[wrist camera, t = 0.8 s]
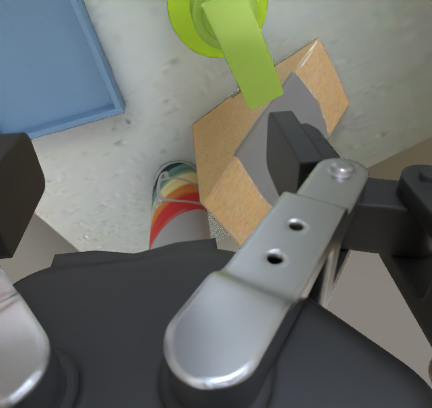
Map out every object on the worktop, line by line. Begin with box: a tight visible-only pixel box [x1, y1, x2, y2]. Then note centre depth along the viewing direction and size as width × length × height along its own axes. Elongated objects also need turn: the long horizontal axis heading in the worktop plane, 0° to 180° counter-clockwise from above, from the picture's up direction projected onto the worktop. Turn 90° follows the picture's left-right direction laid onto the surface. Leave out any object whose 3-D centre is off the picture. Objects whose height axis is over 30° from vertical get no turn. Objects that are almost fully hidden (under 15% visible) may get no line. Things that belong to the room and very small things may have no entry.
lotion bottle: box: [149, 161, 211, 250], centre depth 35 cm, size 6×6×20 cm
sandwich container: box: [192, 38, 349, 247], centre depth 34 cm, size 9×15×15 cm, turn 124°
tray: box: [0, 0, 126, 139], centre depth 33 cm, size 16×13×2 cm
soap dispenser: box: [167, 0, 283, 110], centre depth 24 cm, size 6×7×20 cm
